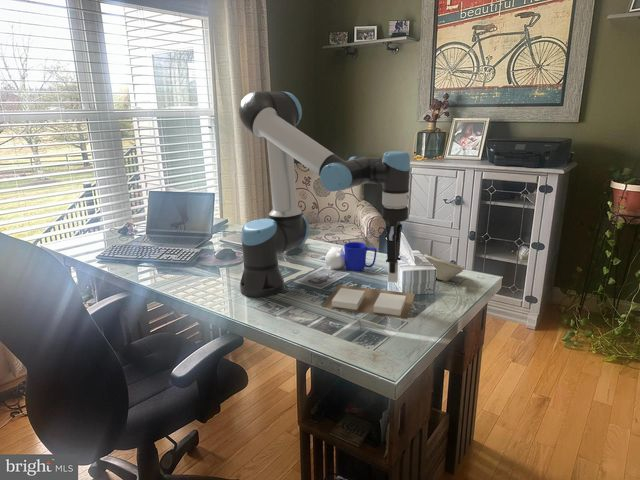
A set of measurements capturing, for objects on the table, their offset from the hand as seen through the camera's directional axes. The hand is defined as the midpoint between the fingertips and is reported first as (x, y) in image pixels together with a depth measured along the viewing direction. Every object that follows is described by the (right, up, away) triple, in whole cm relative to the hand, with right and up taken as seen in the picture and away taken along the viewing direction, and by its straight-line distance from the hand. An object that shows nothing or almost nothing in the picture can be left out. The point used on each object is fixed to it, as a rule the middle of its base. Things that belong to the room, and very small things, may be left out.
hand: (392, 281), depth 137 cm
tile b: (+1, -5, +3) cm, 6 cm away
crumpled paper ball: (-15, +2, +36) cm, 39 cm away
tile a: (-12, -4, +7) cm, 14 cm away
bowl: (+21, -2, +23) cm, 31 cm away
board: (-7, -7, +5) cm, 11 cm away
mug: (-7, +1, +32) cm, 33 cm away
